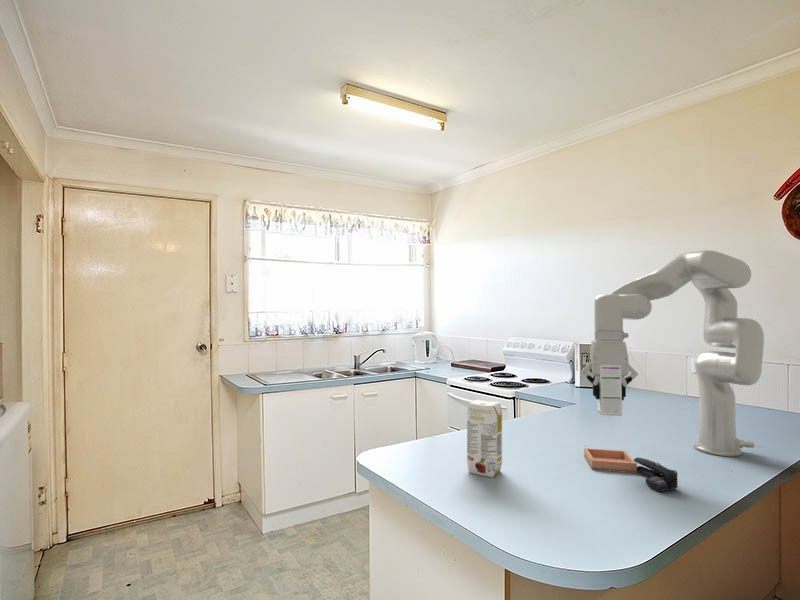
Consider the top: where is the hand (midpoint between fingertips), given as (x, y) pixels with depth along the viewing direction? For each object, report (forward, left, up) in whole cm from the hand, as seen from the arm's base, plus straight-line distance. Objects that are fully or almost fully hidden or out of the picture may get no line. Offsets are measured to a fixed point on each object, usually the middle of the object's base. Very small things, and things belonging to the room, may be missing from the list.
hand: (609, 398), depth 131 cm
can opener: (-8, +11, -19) cm, 24 cm away
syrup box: (0, 0, -5) cm, 5 cm away
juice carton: (+35, +15, -19) cm, 43 cm away
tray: (0, 0, -19) cm, 19 cm away
